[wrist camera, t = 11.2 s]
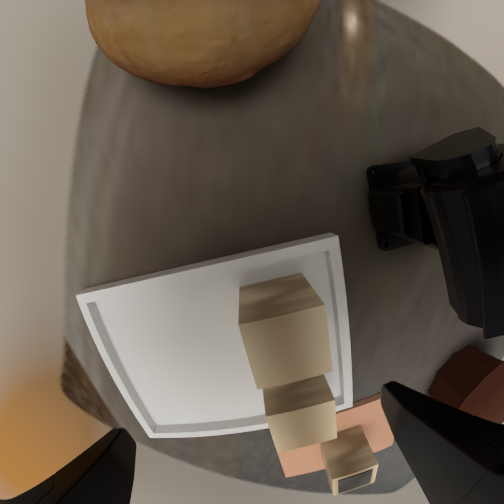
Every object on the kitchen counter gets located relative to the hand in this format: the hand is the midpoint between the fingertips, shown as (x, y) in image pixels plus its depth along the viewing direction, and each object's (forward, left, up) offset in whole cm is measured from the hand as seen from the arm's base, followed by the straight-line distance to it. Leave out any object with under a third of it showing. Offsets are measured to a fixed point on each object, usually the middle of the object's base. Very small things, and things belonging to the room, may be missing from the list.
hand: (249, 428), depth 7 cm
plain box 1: (-2, +1, -12) cm, 13 cm away
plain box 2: (-2, +8, -12) cm, 15 cm away
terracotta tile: (-6, +20, -13) cm, 25 cm away
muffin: (-22, +18, -13) cm, 31 cm away
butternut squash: (-2, -20, -13) cm, 24 cm away
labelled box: (-6, +20, -12) cm, 24 cm away
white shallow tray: (+3, +5, -13) cm, 14 cm away
